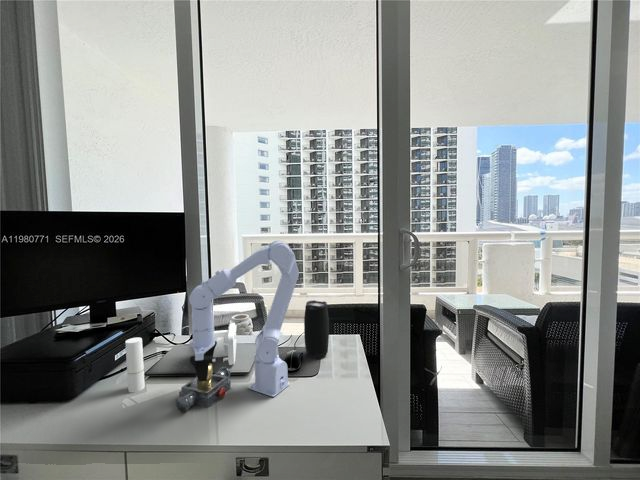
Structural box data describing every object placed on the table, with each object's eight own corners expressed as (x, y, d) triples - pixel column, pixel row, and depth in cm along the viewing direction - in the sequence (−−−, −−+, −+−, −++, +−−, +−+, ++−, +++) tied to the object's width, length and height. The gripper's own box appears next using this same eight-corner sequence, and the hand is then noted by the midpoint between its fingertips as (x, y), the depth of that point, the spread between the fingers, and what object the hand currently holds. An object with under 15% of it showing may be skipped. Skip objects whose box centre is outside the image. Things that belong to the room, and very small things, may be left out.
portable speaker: (332, 351, 120) (332, 300, 119) (321, 362, 112) (321, 307, 110) (312, 347, 124) (311, 298, 122) (300, 357, 115) (299, 304, 114)
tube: (137, 393, 94) (134, 343, 93) (124, 391, 95) (121, 342, 93) (148, 385, 98) (145, 337, 97) (135, 384, 99) (133, 337, 98)
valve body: (212, 376, 103) (211, 364, 103) (241, 382, 99) (241, 369, 99) (167, 408, 86) (167, 394, 85) (201, 417, 82) (200, 402, 82)
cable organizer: (208, 353, 121) (207, 323, 120) (237, 350, 123) (236, 320, 122) (203, 371, 106) (201, 337, 105) (236, 368, 108) (234, 334, 108)
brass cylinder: (215, 384, 93) (215, 364, 93) (204, 391, 90) (203, 370, 89) (205, 380, 95) (205, 361, 95) (194, 387, 92) (193, 367, 91)
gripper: (193, 320, 98) (196, 363, 99) (181, 338, 83) (184, 388, 84) (217, 318, 99) (219, 361, 100) (209, 336, 84) (212, 385, 86)
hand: (205, 373), depth 92 cm, fingers open, 7 cm apart
